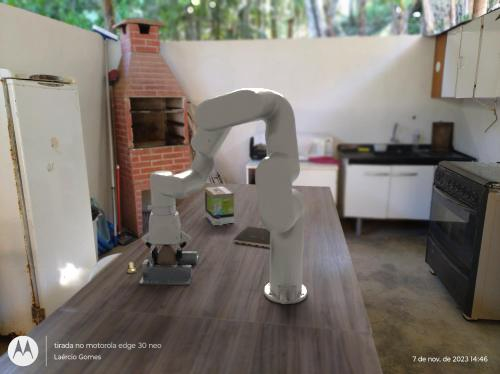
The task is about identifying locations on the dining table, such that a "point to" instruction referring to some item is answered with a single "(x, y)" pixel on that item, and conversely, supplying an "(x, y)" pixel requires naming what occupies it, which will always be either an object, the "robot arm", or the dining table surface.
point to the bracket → (169, 271)
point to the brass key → (131, 268)
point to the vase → (167, 256)
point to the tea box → (219, 205)
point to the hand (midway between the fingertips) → (167, 259)
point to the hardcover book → (254, 236)
